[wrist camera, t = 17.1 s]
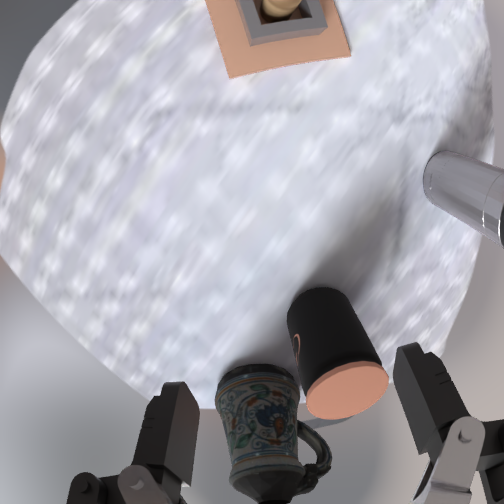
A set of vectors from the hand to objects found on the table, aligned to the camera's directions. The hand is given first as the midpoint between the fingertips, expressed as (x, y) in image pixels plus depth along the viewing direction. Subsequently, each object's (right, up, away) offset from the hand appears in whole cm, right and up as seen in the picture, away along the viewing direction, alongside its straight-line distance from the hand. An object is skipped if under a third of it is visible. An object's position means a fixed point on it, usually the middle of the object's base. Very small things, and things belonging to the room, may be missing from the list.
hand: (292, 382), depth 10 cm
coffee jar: (+9, -5, +39) cm, 40 cm away
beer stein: (+1, -22, +46) cm, 51 cm away
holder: (+1, +35, +19) cm, 40 cm away
